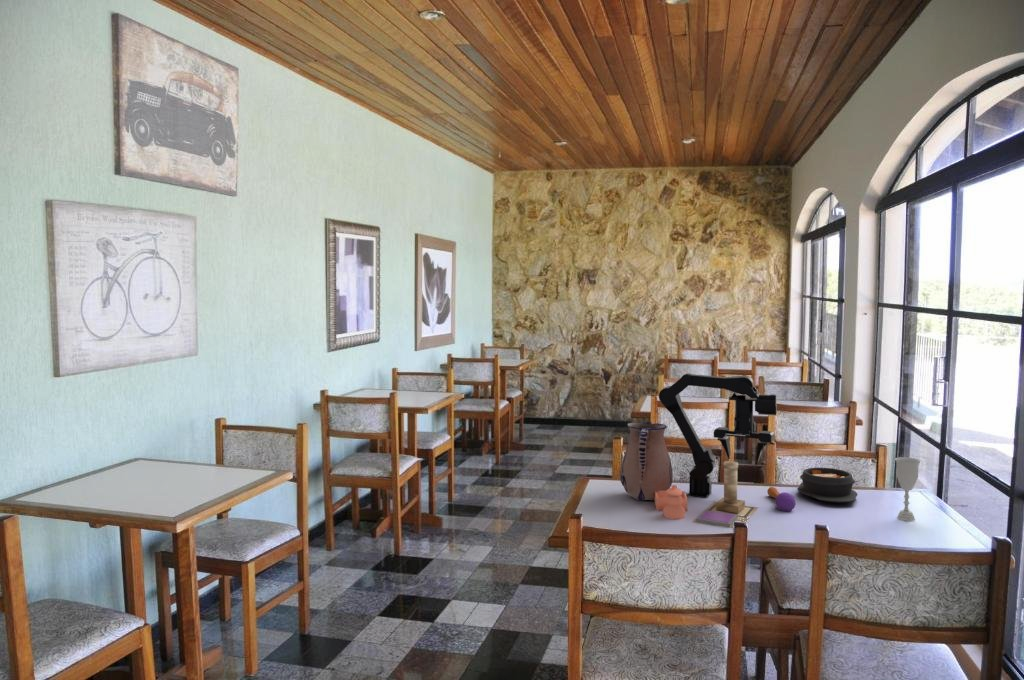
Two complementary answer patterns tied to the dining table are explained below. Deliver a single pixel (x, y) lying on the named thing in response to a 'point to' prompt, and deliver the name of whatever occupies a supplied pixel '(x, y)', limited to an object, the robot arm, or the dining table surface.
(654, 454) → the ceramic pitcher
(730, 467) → the stamp
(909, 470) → the chalice
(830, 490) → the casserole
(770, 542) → the dining table surface
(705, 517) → the ink pad
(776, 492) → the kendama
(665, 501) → the pottery
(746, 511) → the stamp board
